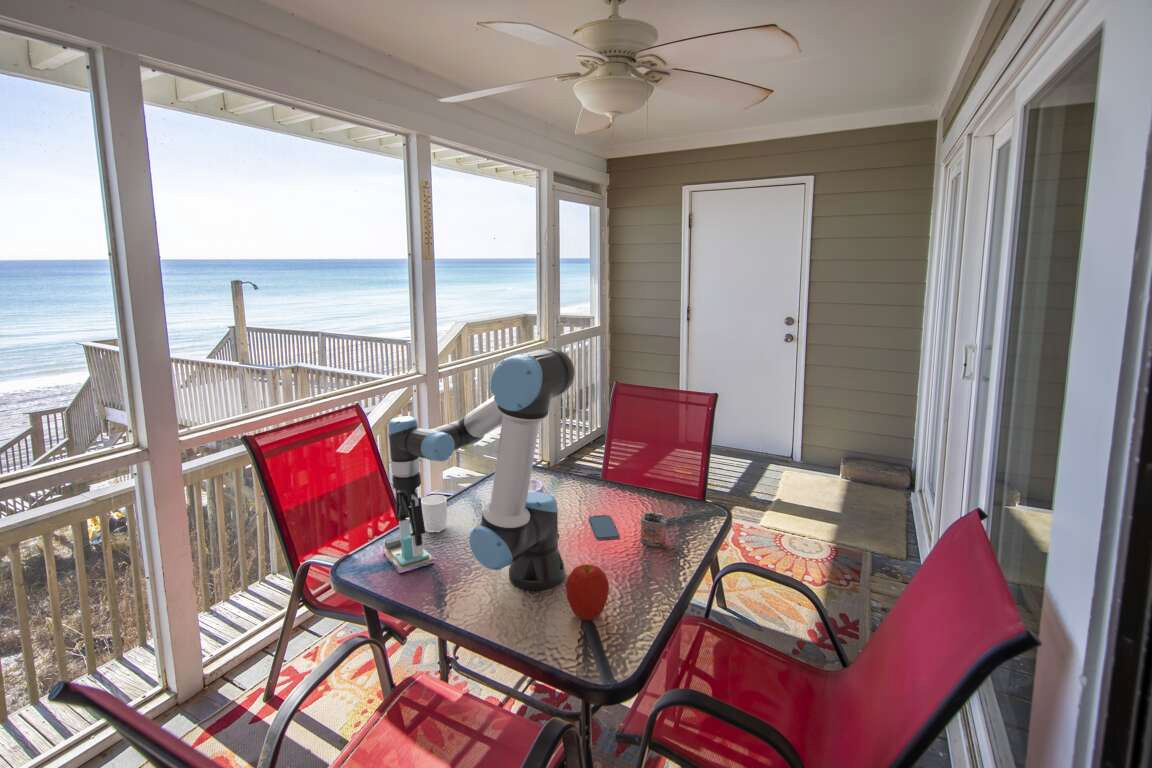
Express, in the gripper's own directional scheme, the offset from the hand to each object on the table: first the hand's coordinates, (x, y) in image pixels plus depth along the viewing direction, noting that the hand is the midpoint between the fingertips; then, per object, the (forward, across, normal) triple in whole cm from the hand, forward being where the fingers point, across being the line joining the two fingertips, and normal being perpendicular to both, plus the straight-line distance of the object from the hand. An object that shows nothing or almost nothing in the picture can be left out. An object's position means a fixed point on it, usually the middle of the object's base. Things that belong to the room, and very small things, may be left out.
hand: (411, 547), depth 166 cm
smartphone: (+6, -15, -57) cm, 59 cm away
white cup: (+5, +18, -14) cm, 23 cm away
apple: (+5, -50, -25) cm, 56 cm away
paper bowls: (+5, +16, -45) cm, 48 cm away
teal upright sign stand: (+3, 0, 0) cm, 3 cm away
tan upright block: (+5, -32, -63) cm, 71 cm away
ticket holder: (+5, +4, 0) cm, 6 cm away
